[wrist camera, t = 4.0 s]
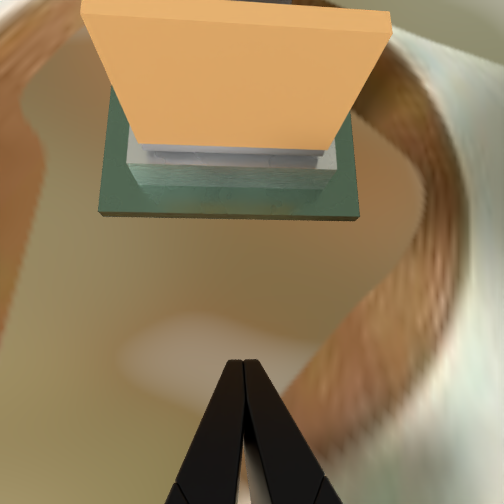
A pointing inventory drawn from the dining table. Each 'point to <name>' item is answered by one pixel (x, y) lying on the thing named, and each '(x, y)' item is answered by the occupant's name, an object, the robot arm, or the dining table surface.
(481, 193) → the dining table surface
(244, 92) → the tan square pad
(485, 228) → the dining table surface
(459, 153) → the dining table surface
